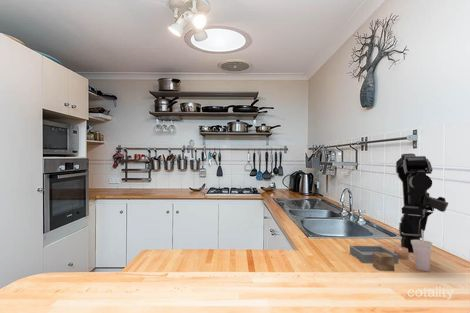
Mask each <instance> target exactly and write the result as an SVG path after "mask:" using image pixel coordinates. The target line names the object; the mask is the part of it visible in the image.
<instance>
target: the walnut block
mask: <svg viewBox="0 0 470 313" xmlns="http://www.w3.org/2000/svg"><path fill="white" fill-rule="evenodd" d="M372 256H373V263H372V267H373V268H375V269H376V270H378V271H380V272H394V271H395V264H394V257H393V256H391V255H389V254H387V253H372Z"/></svg>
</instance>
